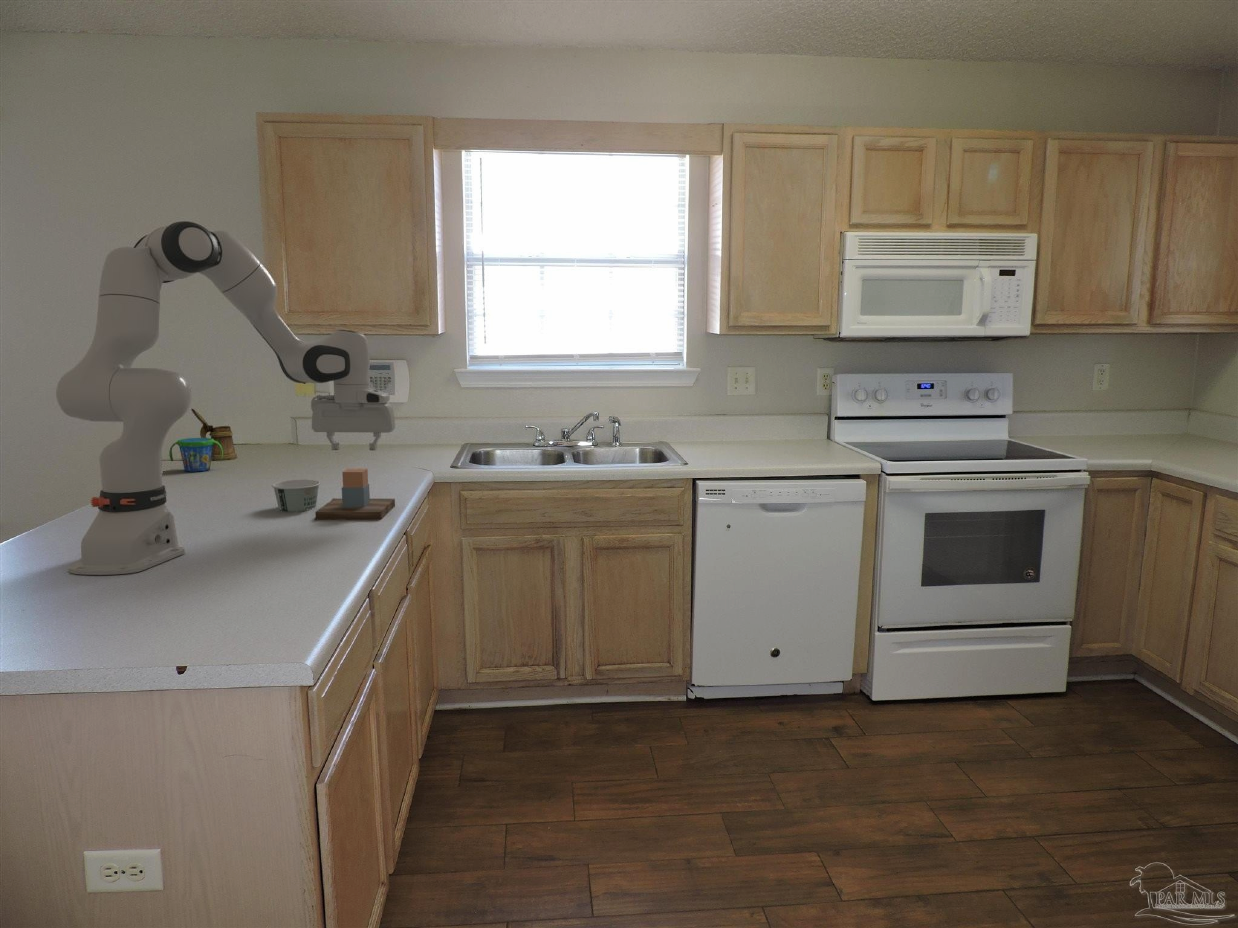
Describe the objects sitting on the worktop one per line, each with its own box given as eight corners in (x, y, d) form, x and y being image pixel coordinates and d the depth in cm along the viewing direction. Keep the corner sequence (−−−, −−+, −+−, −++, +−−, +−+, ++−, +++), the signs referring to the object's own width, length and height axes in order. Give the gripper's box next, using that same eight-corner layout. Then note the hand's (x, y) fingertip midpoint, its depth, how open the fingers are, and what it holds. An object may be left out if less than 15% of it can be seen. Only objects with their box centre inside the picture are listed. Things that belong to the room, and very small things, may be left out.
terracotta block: (363, 487, 220) (362, 472, 220) (343, 487, 220) (342, 472, 219) (368, 483, 225) (367, 468, 224) (348, 483, 225) (347, 468, 224)
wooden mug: (196, 457, 308) (192, 407, 305) (237, 456, 312) (234, 406, 309) (193, 461, 299) (189, 409, 297) (236, 459, 304) (233, 408, 301)
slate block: (364, 507, 221) (363, 487, 220) (342, 507, 221) (341, 487, 220) (369, 502, 226) (369, 483, 225) (348, 502, 226) (347, 483, 225)
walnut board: (380, 519, 216) (380, 511, 216) (315, 519, 216) (315, 511, 215) (395, 505, 232) (394, 498, 232) (334, 505, 231) (334, 498, 231)
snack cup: (226, 467, 290) (224, 436, 288) (220, 472, 279) (218, 441, 278) (175, 468, 286) (173, 437, 284) (167, 474, 276) (164, 442, 274)
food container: (305, 514, 222) (304, 488, 221) (263, 511, 224) (261, 486, 223) (330, 504, 234) (329, 480, 233) (289, 502, 236) (288, 478, 235)
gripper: (306, 395, 215) (308, 451, 217) (389, 396, 216) (391, 451, 218) (314, 394, 221) (317, 448, 223) (395, 394, 222) (397, 448, 224)
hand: (354, 450), depth 220 cm, fingers open, 8 cm apart
